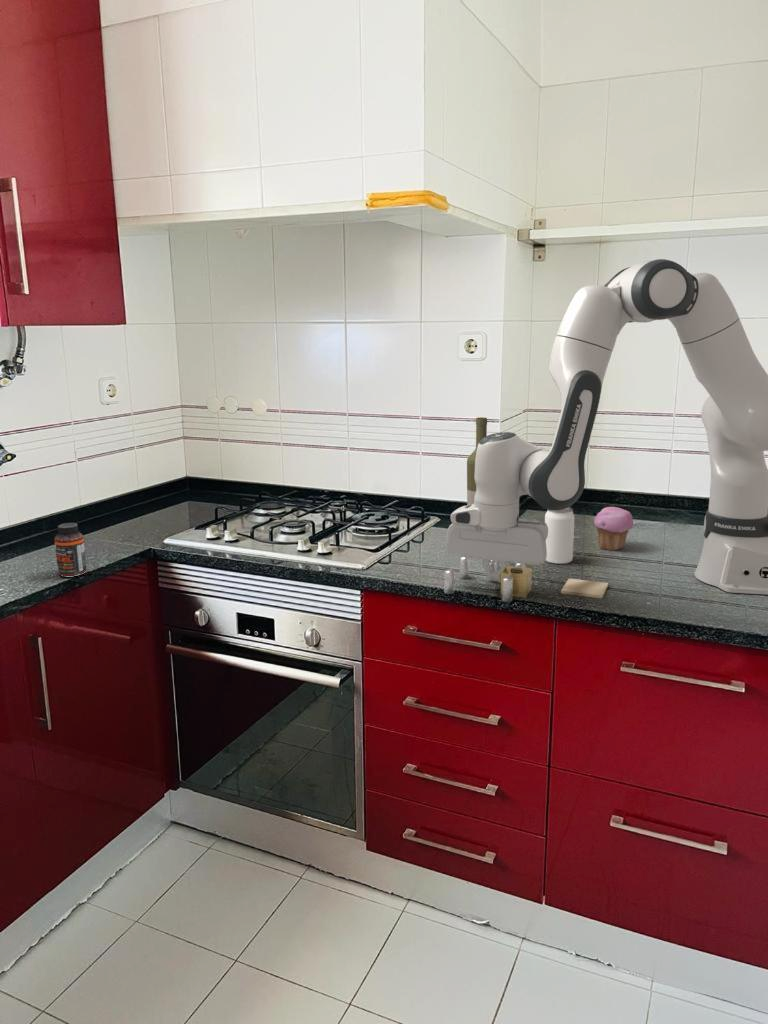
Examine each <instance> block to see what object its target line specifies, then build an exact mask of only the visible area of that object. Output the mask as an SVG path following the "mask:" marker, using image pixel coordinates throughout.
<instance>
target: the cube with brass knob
mask: <svg viewBox="0 0 768 1024" xmlns="http://www.w3.org/2000/svg"><path fill="white" fill-rule="evenodd" d="M532 574H533V568H530V567H525V568H523V567H515V566H512V565H508V566H507V567H506V568H505V570H504V571H502V573H501V582H500V596H502V580H503V577H506V576H508V577H512V578H513V596H512V597H517V598H524V599H525V598H526V597H528V594H529V593H530V592H531V590H532V581H533V580H532V579H533V578H532V577H533V576H532Z"/></svg>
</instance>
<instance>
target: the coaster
mask: <svg viewBox="0 0 768 1024" xmlns="http://www.w3.org/2000/svg"><path fill="white" fill-rule="evenodd" d="M608 587H609V582H604V581H602V582H601V581H595V580H587V579H586V580H583V579H578V578H576V579H575V578H570V577H569V578H568V579H567V581H566V582H565V584H564V586H563V587H562V589H561V591H560V594H562V595H572V596H579V597H587V598H595V599H603V597H604V595H605V593H606V592H607V589H608Z"/></svg>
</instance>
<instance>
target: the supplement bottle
mask: <svg viewBox="0 0 768 1024" xmlns="http://www.w3.org/2000/svg"><path fill="white" fill-rule="evenodd" d="M57 532H58V533H57V535H55V537H54V547H55V548H54V549H55V558H56V565H57V566H56V567H57V573H58V576H59V575H63V576H74V575H78V574H82V573H84V572H85V571H86V570H87V559H86V550H85V548H86V547H85V540H84V535H83V534H82V532H80V530H79V528H78V524H77V523H75V522H67V523H66V522H65V523H61V524H59V525H58V526H57Z"/></svg>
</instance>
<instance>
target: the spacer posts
mask: <svg viewBox="0 0 768 1024" xmlns="http://www.w3.org/2000/svg"><path fill="white" fill-rule="evenodd" d="M489 564H490V566H491V568H492V570H493V571H498V570H497V569H498V561H491V562H490V563H489ZM514 564H515V566H514V567H523V568H526V564H518V563H514ZM459 579H462V580H466V579H470V558H465V557H459ZM487 582H488V583H496V582H495V581H487ZM443 593H444V594H447V595H453V594H454V593H455V570H453V569H445V570H444V571H443ZM513 597H514V596H513V578H512V577H508V576H506V577H503V580H502V595H501V601H503V602H505V603H506V602H507V603H508V602H509V603H510V602H512V601H513Z"/></svg>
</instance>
